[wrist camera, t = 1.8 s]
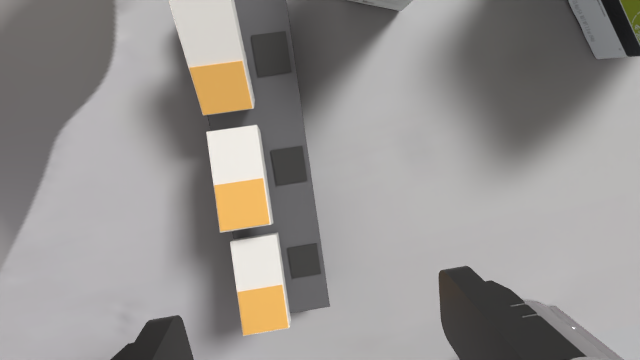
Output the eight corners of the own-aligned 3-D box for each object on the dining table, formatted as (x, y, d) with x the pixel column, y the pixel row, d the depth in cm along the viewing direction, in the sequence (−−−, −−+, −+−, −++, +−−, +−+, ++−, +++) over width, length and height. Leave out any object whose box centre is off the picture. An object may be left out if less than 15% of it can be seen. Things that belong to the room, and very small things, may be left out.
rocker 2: (260, 130, 29) (256, 124, 27) (273, 223, 29) (270, 224, 26) (213, 136, 29) (205, 131, 27) (225, 230, 28) (219, 232, 26)
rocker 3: (278, 232, 32) (276, 234, 29) (290, 319, 31) (289, 328, 29) (234, 239, 31) (229, 241, 29) (246, 327, 31) (242, 336, 29)
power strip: (283, -8, 31) (282, -29, 26) (325, 285, 38) (331, 315, 33) (194, 3, 30) (175, -16, 25) (254, 297, 38) (249, 329, 33)
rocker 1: (232, -9, 24) (229, -7, 22) (254, 100, 29) (253, 109, 27) (175, -2, 24) (167, 1, 22) (206, 106, 28) (202, 116, 26)
